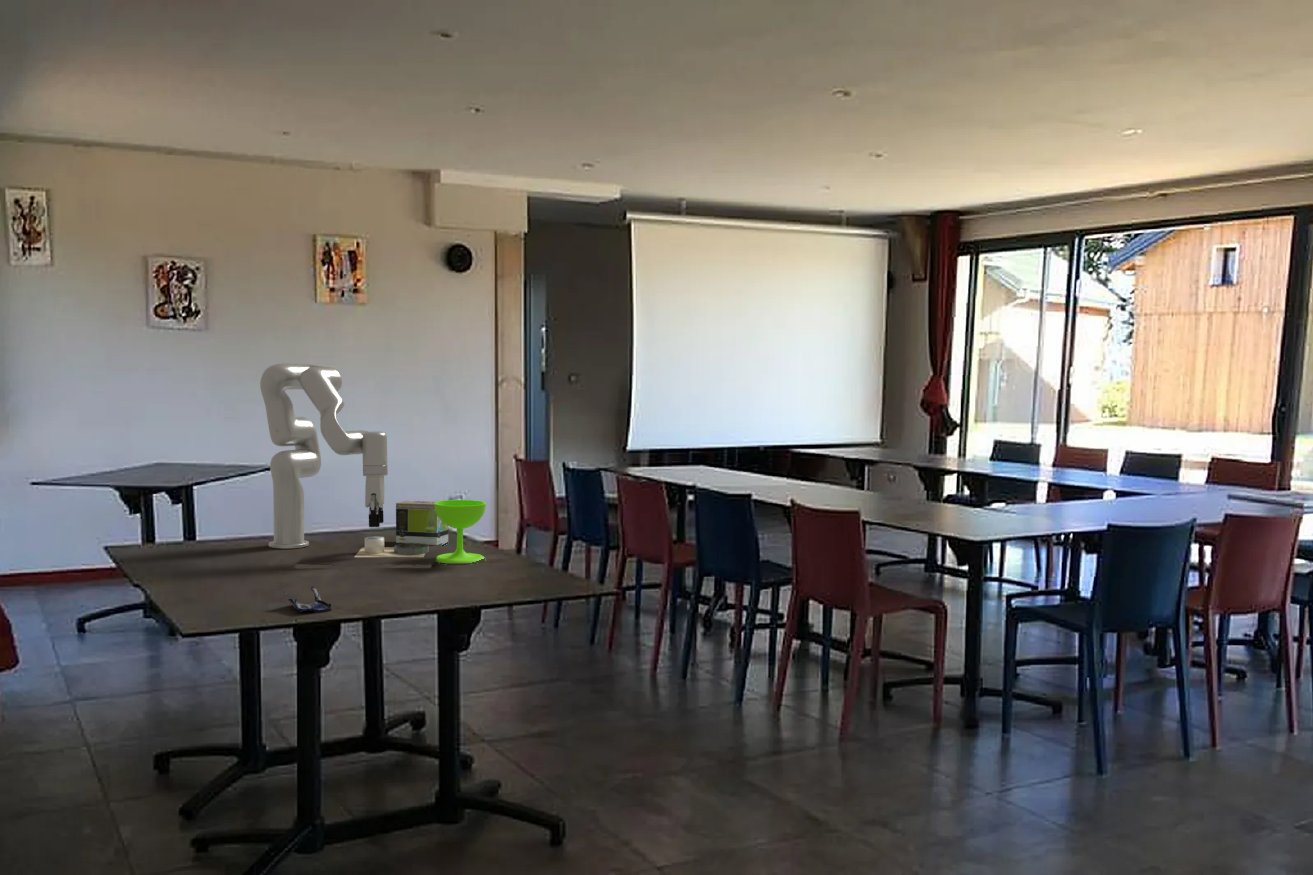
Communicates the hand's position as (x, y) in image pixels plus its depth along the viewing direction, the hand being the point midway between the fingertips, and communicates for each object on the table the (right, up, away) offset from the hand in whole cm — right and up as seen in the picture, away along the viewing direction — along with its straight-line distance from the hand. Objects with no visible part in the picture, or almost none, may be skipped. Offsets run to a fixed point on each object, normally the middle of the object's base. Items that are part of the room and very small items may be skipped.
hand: (376, 524), depth 343 cm
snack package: (+2, -15, -74) cm, 76 cm away
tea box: (+9, -9, +23) cm, 27 cm away
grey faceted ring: (+11, -9, +2) cm, 14 cm away
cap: (-1, -9, +1) cm, 9 cm away
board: (+5, -10, +2) cm, 11 cm away
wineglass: (+27, -11, -4) cm, 29 cm away
